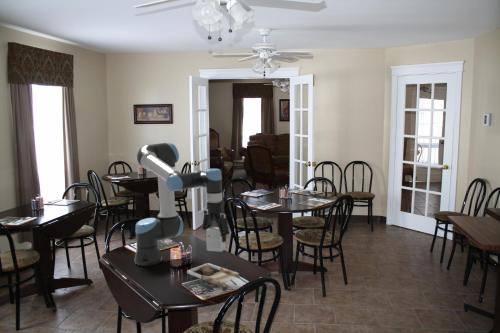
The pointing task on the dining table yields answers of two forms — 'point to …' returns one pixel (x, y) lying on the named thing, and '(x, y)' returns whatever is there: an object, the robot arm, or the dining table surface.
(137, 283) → the dining table surface
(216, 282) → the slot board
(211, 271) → the chip
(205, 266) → the chip
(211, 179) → the robot arm
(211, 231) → the small box
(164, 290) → the dining table surface
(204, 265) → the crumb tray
